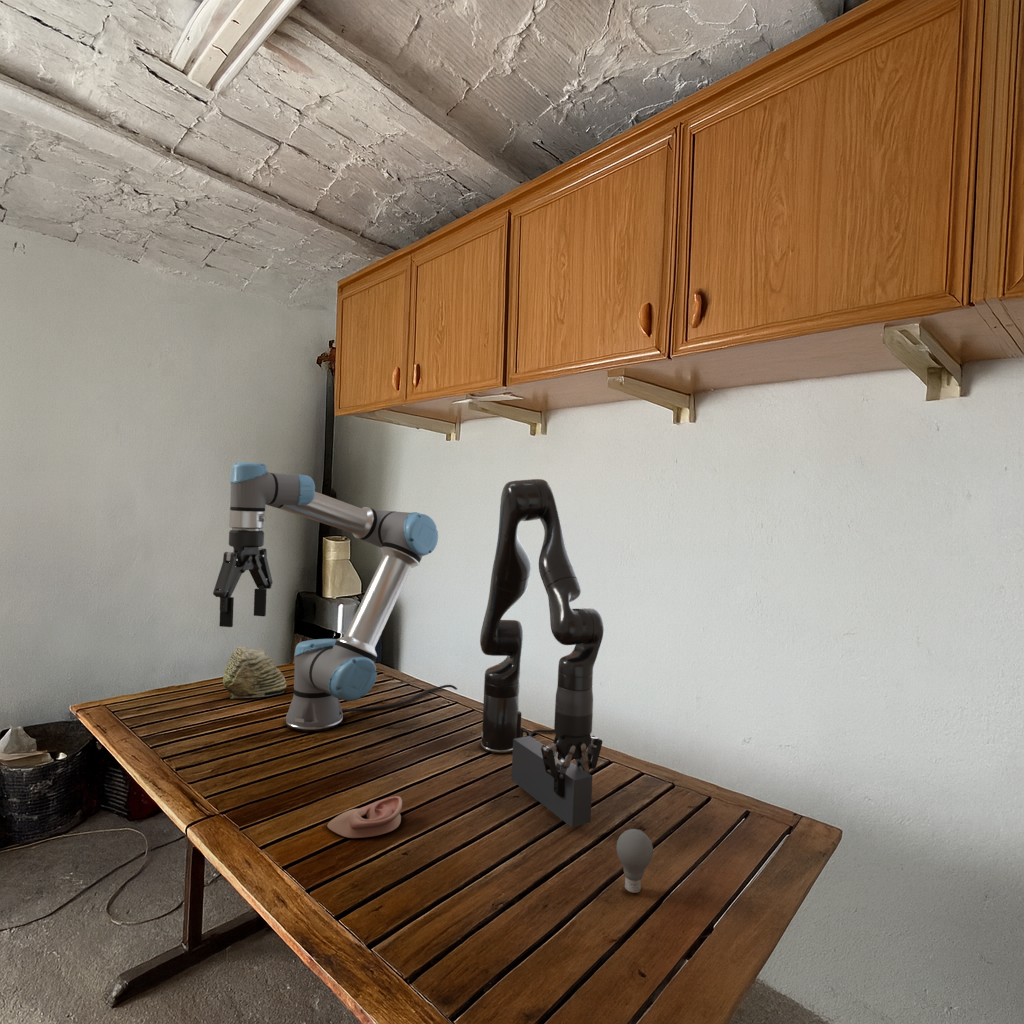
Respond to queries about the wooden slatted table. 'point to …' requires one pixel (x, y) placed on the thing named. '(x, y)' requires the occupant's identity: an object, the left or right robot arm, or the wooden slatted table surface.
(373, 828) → the anatomical model
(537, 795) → the bar
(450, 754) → the wooden slatted table surface
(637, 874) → the light bulb
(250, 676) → the fossil
